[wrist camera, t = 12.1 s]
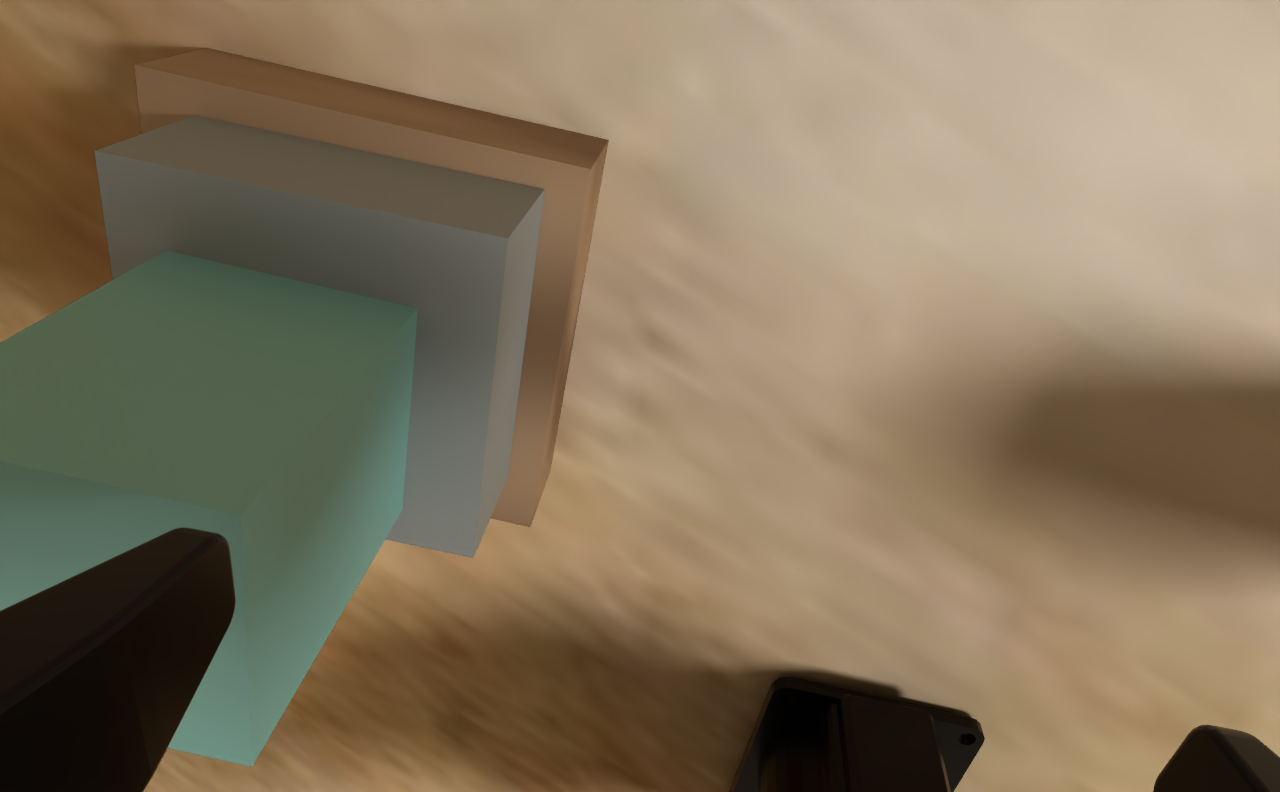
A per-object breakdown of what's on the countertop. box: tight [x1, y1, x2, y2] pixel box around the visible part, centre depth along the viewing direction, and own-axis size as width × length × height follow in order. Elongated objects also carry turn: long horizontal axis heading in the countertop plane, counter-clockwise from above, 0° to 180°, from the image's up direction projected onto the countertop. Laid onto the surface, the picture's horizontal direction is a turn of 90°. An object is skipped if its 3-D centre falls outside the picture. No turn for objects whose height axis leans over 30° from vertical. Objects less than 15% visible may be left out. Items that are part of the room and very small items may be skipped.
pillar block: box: [0, 250, 418, 767], centre depth 13 cm, size 4×4×6 cm
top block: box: [94, 115, 545, 558], centre depth 17 cm, size 7×7×3 cm
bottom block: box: [134, 48, 609, 527], centre depth 20 cm, size 9×9×3 cm
